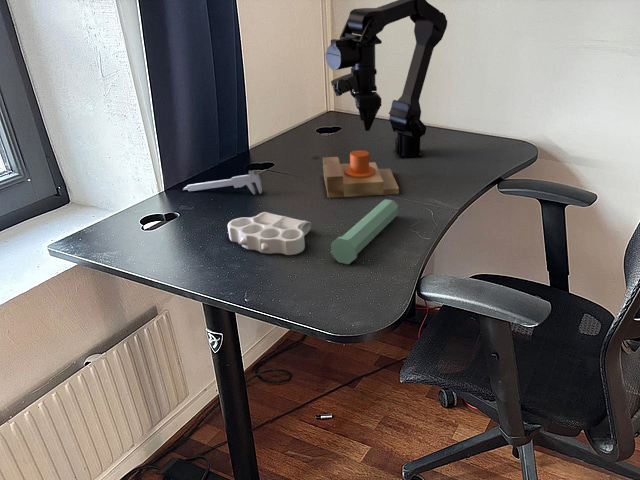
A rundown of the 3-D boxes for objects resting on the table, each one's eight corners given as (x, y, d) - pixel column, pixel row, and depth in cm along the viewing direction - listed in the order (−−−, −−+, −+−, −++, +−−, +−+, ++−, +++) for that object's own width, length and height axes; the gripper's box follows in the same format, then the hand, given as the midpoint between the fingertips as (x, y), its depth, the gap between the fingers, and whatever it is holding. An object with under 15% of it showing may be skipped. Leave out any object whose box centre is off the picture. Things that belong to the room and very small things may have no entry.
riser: (390, 173, 167) (390, 154, 164) (399, 193, 155) (399, 173, 152) (323, 177, 164) (322, 157, 161) (327, 197, 152) (326, 176, 149)
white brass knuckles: (324, 234, 135) (287, 263, 124) (256, 218, 142) (215, 245, 130) (323, 220, 134) (286, 248, 122) (254, 205, 140) (213, 231, 128)
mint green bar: (385, 190, 141) (335, 232, 122) (406, 203, 141) (360, 247, 121) (376, 210, 145) (326, 254, 125) (397, 223, 144) (350, 269, 125)
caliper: (262, 193, 154) (260, 169, 151) (261, 195, 153) (258, 171, 150) (184, 189, 156) (179, 165, 152) (182, 191, 155) (178, 167, 151)
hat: (373, 166, 162) (372, 147, 159) (377, 177, 155) (377, 157, 152) (342, 167, 160) (342, 148, 158) (346, 179, 154) (345, 159, 151)
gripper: (329, 57, 162) (331, 116, 170) (335, 73, 146) (338, 137, 155) (371, 56, 163) (371, 115, 172) (381, 72, 148) (381, 135, 156)
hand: (365, 125), depth 164 cm, fingers open, 9 cm apart
